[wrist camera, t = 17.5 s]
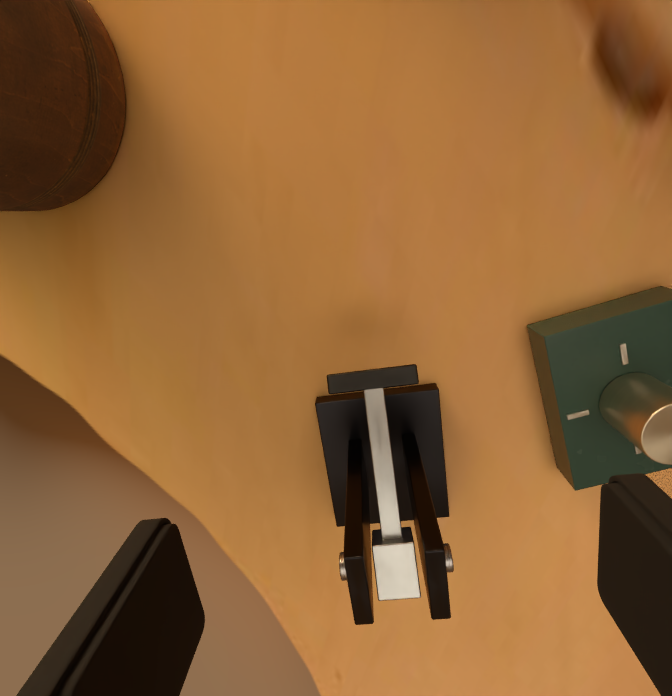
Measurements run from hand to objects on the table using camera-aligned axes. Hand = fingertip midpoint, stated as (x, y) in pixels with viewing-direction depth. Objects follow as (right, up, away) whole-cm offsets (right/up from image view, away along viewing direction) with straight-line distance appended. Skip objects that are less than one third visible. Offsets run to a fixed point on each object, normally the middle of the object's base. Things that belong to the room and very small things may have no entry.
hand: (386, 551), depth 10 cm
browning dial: (+18, +1, +19) cm, 26 cm away
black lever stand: (+3, -4, +24) cm, 25 cm away
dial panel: (+18, +2, +22) cm, 29 cm away
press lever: (+2, -3, +16) cm, 16 cm away
